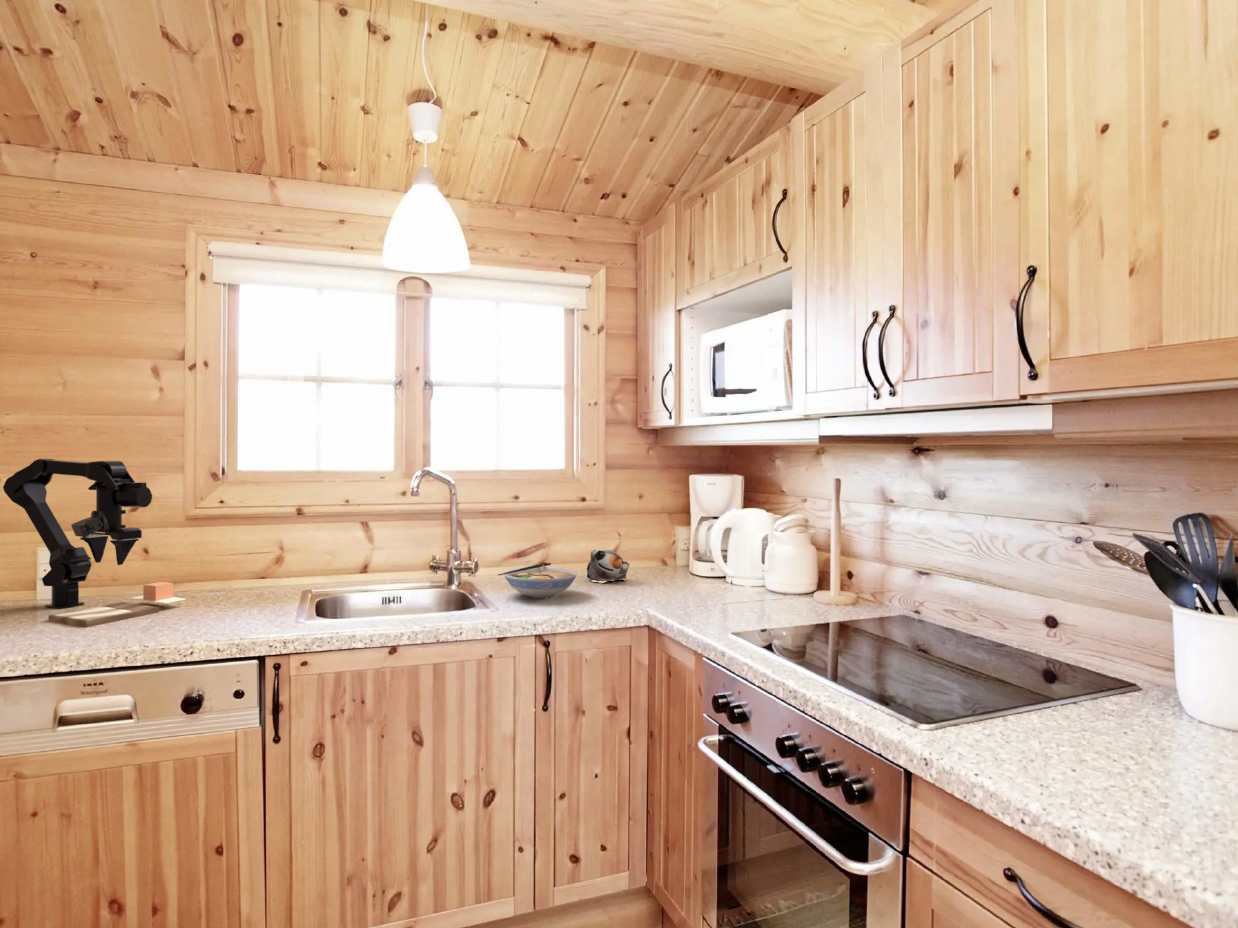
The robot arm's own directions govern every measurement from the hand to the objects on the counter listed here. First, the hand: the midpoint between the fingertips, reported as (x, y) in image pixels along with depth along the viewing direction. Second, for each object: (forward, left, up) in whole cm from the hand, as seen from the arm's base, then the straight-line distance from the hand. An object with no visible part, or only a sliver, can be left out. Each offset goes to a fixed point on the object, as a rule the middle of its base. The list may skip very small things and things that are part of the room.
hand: (108, 563), depth 194 cm
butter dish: (+10, +7, -10) cm, 16 cm away
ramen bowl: (+98, +66, -12) cm, 119 cm away
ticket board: (+10, -7, -12) cm, 17 cm away
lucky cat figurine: (+107, +99, -12) cm, 146 cm away
